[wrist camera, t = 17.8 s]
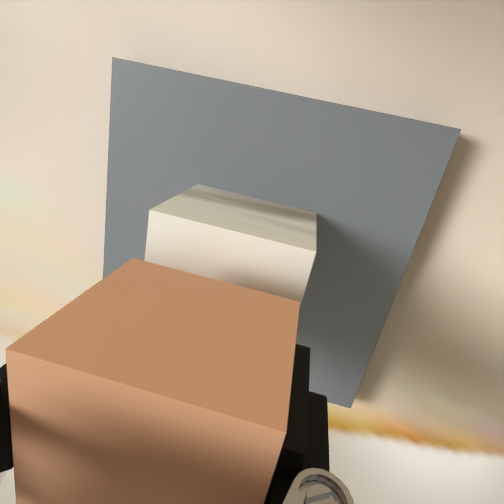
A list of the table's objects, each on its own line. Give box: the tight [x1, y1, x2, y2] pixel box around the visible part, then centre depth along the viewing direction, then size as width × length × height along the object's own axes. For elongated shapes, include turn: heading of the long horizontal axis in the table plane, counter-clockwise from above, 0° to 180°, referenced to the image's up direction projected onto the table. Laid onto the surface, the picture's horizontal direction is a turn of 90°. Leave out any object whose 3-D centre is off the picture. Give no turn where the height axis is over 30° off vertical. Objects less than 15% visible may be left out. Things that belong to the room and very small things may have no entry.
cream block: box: [144, 184, 316, 309], centre depth 17 cm, size 6×6×6 cm
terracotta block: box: [6, 258, 300, 504], centre depth 10 cm, size 6×6×5 cm
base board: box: [103, 57, 461, 408], centre depth 21 cm, size 17×17×2 cm
